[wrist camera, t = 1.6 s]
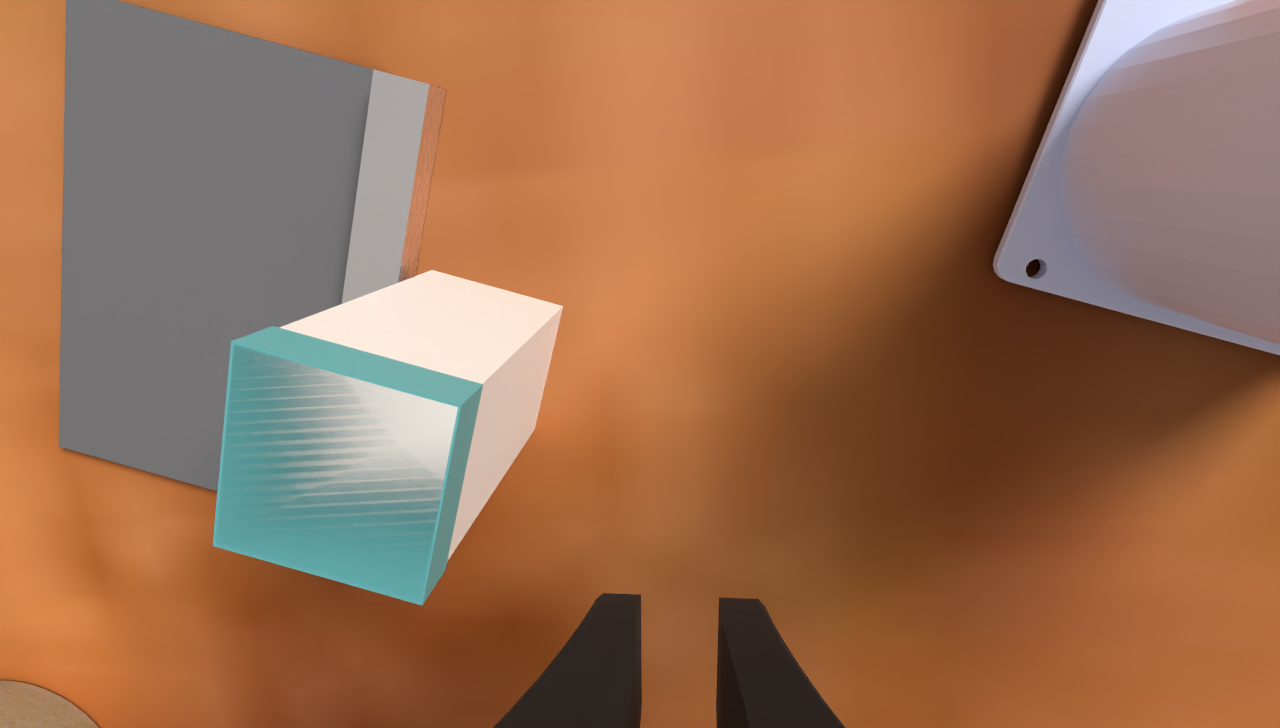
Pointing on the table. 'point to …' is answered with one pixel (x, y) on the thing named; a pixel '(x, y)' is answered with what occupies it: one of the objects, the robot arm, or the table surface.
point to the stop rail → (392, 183)
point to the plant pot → (38, 708)
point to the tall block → (379, 429)
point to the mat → (191, 221)
